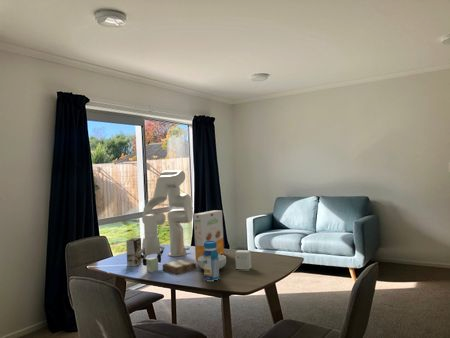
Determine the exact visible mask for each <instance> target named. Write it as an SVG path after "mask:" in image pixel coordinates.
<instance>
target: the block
mask: <svg viewBox="0 0 450 338" xmlns="http://www.w3.org/2000/svg"><path fill="white" fill-rule="evenodd" d="M146 262H147V265H146V271H147V272H150V273H153V272H156V271H159V262H158V258H157V257H154V256H152V257H149V258H148V257H147V258H146Z"/></svg>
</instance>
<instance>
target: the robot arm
mask: <svg viewBox="0 0 450 338" xmlns="http://www.w3.org/2000/svg"><path fill="white" fill-rule="evenodd" d="M185 180H186V174H185V172H184V170H181V169H179V170H177V169H176V170H174V169H173V170H164V171H161V172H160V174H159V176H158V177H157V179H156V183H155V187H154V193H153V196H152V198H150V199H149V200H148V201H147V203H146V204H145V205H144V208H143V211H142V217H141V220H142V223H143V227H144V228H143V230H144V237H143V239H142V242H141V250H140V251H139V252H138V254H139V256H140V257H141V258H142V263H141V264H142V266H145V267H147V262H146V259H147V258H148V257H147V256H151V255H156V258H158V264H161V262H162V256H163V253H164V250H165V247H163V246H162V245H161V243H160V237H159V236H158V235H159V234H160V232H159V231H158V226H161V225H164V224H165V222H166V219H167V220H168V221H167V222H168V226H169V227H168V228H169V242H170V243H169V245H170V247H169V249H170V250H169V251H170V252H169V253H167V255H168V256H169V257H183V256H186V255H187V251H190V249H191V247H190V246H187V247H185V243H184V242H185V241H184V239H185V236H184V228H183V226H182V224H190V223H192V221H193V218H194V215H193V203H192V198H191V196H190V195H189V194H188V193H181V188H180V186H182V184H183V183H184V182H185ZM167 200H168V205H169V207H170V208H172V209H171V210H169V211H168V212H167V216H166V215H165V214H164V213H163V212H151V211H152V210H153V209H154V208H155V207H156V206H159V205H160V204H162V203H164V202H166V201H167ZM178 208H179V209H178ZM181 208H183V209H181ZM166 217H167V218H166ZM141 253H142V254H141Z"/></svg>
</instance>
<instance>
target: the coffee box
mask: <svg viewBox="0 0 450 338" xmlns="http://www.w3.org/2000/svg"><path fill="white" fill-rule="evenodd" d="M125 243H126V245H125V246H126V267H127V266H128V267H137V266H139V265H141V264H143V263H142V258H141V257H140V256H139V254H138V252H139V251H140V250H141V249H142V238H140V237H135V238H130V239H128V240H126V241H125ZM141 254H142V253H141ZM142 255H143V254H142Z"/></svg>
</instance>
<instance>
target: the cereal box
mask: <svg viewBox="0 0 450 338" xmlns="http://www.w3.org/2000/svg"><path fill="white" fill-rule="evenodd" d="M223 221H224V220H223V210H217V209H216V210H215V209H214V210H209V211H204V212H203V211H202V212H198V213H194V214H193V229H194V230H193V231H194V232H193V233H194V249H195V250H194V251H195V253H194V254H195V261H197V260H198V258H199V257H201V256H203V253H204V251H205V249H204V242H206V241H216V244H217V247H216V248H215V249H216V250H217V252H218V254H220V255H221V254H222V255H224V254H225V248H224V247H225V245H224V226H223V225H224V224H223Z"/></svg>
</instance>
